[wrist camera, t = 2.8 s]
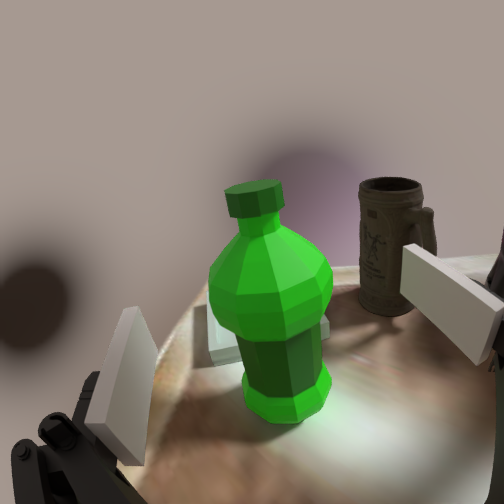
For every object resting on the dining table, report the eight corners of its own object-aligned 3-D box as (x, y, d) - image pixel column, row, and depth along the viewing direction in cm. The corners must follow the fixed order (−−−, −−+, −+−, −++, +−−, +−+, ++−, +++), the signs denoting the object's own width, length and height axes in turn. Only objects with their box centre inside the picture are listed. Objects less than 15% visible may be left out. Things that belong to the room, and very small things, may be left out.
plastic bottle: (342, 379, 33) (334, 168, 23) (313, 449, 25) (290, 205, 15) (270, 365, 38) (231, 176, 28) (231, 424, 29) (154, 211, 20)
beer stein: (344, 293, 50) (341, 181, 41) (387, 273, 52) (391, 170, 43) (402, 343, 37) (423, 210, 28) (445, 313, 39) (467, 194, 30)
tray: (297, 284, 56) (295, 270, 55) (329, 337, 40) (329, 321, 39) (210, 304, 55) (206, 290, 54) (214, 366, 39) (208, 351, 38)
